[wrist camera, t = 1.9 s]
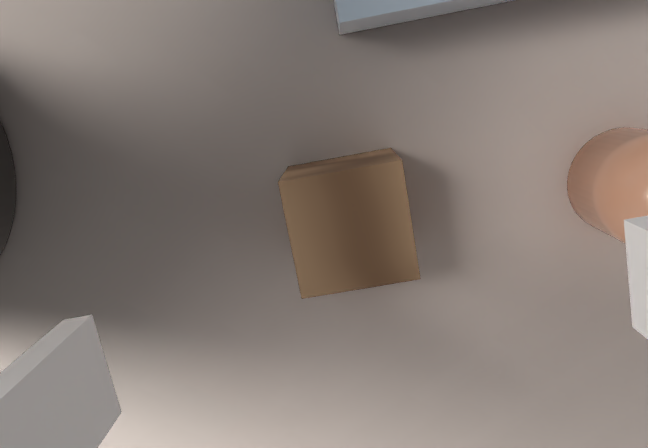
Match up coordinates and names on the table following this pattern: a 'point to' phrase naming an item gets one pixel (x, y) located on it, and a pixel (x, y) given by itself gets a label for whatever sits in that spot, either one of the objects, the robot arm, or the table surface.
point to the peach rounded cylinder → (611, 180)
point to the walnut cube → (349, 223)
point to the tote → (396, 11)
